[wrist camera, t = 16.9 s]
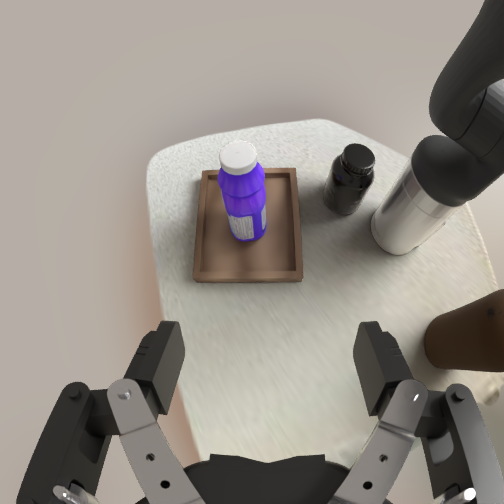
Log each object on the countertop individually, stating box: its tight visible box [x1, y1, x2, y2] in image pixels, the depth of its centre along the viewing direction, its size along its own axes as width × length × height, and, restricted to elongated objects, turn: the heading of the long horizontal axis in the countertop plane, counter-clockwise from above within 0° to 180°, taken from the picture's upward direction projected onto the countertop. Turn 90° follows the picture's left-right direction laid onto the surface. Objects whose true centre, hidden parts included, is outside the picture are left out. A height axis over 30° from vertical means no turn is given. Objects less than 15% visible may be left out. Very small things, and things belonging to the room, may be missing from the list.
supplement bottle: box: [323, 143, 375, 214], centre depth 42 cm, size 7×7×12 cm
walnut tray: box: [193, 168, 303, 283], centre depth 46 cm, size 16×19×2 cm
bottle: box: [217, 140, 267, 242], centre depth 38 cm, size 7×6×17 cm
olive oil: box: [425, 289, 504, 372], centre depth 26 cm, size 11×11×25 cm
